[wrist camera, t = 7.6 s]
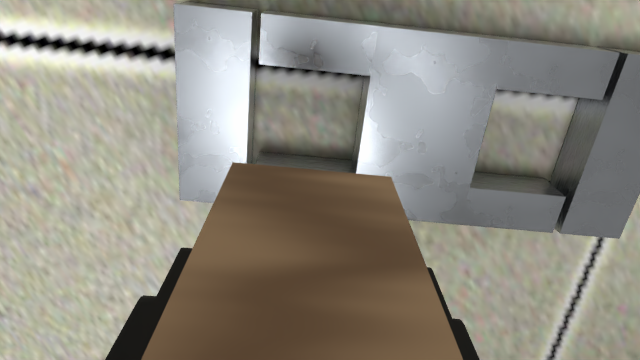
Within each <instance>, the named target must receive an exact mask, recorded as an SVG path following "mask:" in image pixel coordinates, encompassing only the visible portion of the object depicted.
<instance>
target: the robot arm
mask: <svg viewBox="0 0 640 360" xmlns="http://www.w3.org/2000/svg"><path fill="white" fill-rule="evenodd" d="M192 249H193V248H181V249H180V251H179V253H178V255H177V257H176V259H175V261H174V263H173V265H172V267H171V269H170V271H169V273H168V275H167V277H166V279H165V281H164V283H163V284H162V286H161V288H160V290H159V292H158V294H157V296H142V297H140V299H139V300H138V302H137V303H136V305H135V307H134V309H133V311H132V312H131V314H130V316H129V318H128V320H127V321H126V323H125V325H124V327H123V329H122V330H121V332H120V334H119V336H118V338H117V339H116V341H115V343H114V345H113V347H112V348H111V350H110V352H109V354H108V356H107V357H106V359H105V360H141V359H142V357H143V355H144V352H145V350H146V348H147V346H148V344H149V342H150V340H151V337H152V335H153V333H154V331H155V329H156V327H157V324H158V322H159V320H160V318H161V316H162V314H163V311H164V309H165V307H166V305H167V303H168V301H169V299H170V296H171V294H172V292H173V290H174V288H175V286H176V283H177V281H178V279H179V277H180V275H181V273H182V270H183V268H184V266H185V264H186V262H187V260H188V258H189V255H190V253H191V251H192ZM427 269H428V272H429V274H430V277H431V279H432V282H433V285H434V287H435V290H436V292H437V295H438V297H439V300H440V302H441V305H442V307H443V310H444V312H445V315H446V317H447V320H448V323H449V325H450V328H451V330H452V333H453V335H454V338H455V340H456V343H457V345H458V348H459V350H460V353H461V356H462V358H463V360H479V357H478V355H477V353H476V350H475V348H474V346H473V344H472V341H471V339H470V337H469V334H468V332H467V330H466V327H465V325H464V324H463V322H462V321H461V320H460V319H452V317H451V314H450V312H449V310H448V307H447V305H446V302H445V300H444V297H443V295H442V292H441V290H440V287H439V285H438V282H437V280H436V278H435V275H434V273H433V270H432V269H431V268H429V267H427Z"/></svg>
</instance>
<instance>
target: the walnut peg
mask: <svg viewBox="0 0 640 360" xmlns="http://www.w3.org/2000/svg"><path fill="white" fill-rule="evenodd" d="M141 360H463V358H462V356H461V353H460V350H459V348H458V345H457V343H456V340H455V338H454V335H453V333H452V330H451V328H450V325H449V323H448V320H447V317H446V315H445V312H444V310H443V307H442V305H441V302H440V300H439V297H438V295H437V292H436V290H435V287H434V285H433V282H432V279H431V277H430V274H429V272H428V269H427V267H426V264H425V262H424V259H423V257H422V254H421V252H420V249H419V247H418V244H417V241H416V239H415V236H414V234H413V231H412V229H411V226H410V224H409V221H408V219H407V216H406V214H405V211H404V209H403V206H402V203H401V201H400V198H399V196H398V193H397V191H396V188H395V186H394V183H393V181H392V178H391V177H389V176H378V175H367V174H356V173H345V172H334V171H323V170H312V169H301V168H290V167H280V166H269V165H258V164H247V163H236V162H233V163H232V165H231V167H230V169H229V171H228V173H227V176H226V178H225V180H224V182H223V184H222V186H221V188H220V191H219V193H218V195H217V197H216V199H215V201H214V204H213V206H212V208H211V210H210V212H209V214H208V217H207V219H206V221H205V223H204V225H203V227H202V229H201V232H200V234H199V236H198V238H197V240H196V242H195V245H194V247H193V249H192V251H191V253H190V255H189V258H188V260H187V262H186V264H185V266H184V268H183V270H182V273H181V275H180V277H179V279H178V281H177V283H176V286H175V288H174V290H173V292H172V294H171V296H170V299H169V301H168V303H167V305H166V307H165V309H164V311H163V314H162V316H161V318H160V320H159V322H158V324H157V327H156V329H155V331H154V333H153V335H152V337H151V340H150V342H149V344H148V346H147V348H146V350H145V352H144V355H143V357H142V359H141Z"/></svg>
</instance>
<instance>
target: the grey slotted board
mask: <svg viewBox="0 0 640 360" xmlns="http://www.w3.org/2000/svg"><path fill="white" fill-rule="evenodd" d="M258 13H259V9H250V8H241V7H232V6H223V5H214V4H205V3H196V2H183V3H175V4H174V31H175V63H176V95H177V127H178V159H179V191H180V200H185V201H196V202H208V203H214V201H215V199H216V197H217V195H218V193H219V191H220V188H221V186H222V184H223V182H224V180H225V178H226V176H227V173H228V171H229V169H230V167H231V165H232V163H233V162H236V163H247V164H252V152H253V129H254V106H255V82H256V59H257V36H258ZM259 64H261V65H271V66H280V67H290V68H300V69H309V70H319V71H329V72H338V73H348V74H357V75H364V80H363V87H362V94H361V101H360V108H359V115H358V122H357V129H356V136H355V143H354V150H353V157H352V160H344V159H333V158H322V157H312V156H301V155H290V154H280V153H269V152H259V155H258V158H257V161H256V164H258V165H269V166H280V167H290V168H301V169H312V170H323V171H334V172H345V173H356V174H367V175H378V176H389V177H391V178H392V181H393V183H394V186H395V188H396V191H397V193H398V196H399V198H400V201H401V203H402V206H403V209H404V211H405V214H406V216H407V219H408V220H413V221H425V222H436V223H448V224H459V225H470V226H482V227H493V228H505V229H516V230H527V231H539V232H550V233H553V230H554V228H555V229H556V230H557V231H558V232H559V233H562V234H573V235H584V236H596V237H607V238H620V236H621V234H622V231H623V229H624V227H625V225H626V222H627V220H628V218H629V216H630V214H631V211H632V209H633V207H634V205H635V202H636V200H637V198H638V196H639V194H640V51H631V50H622V49H613V48H604V47H592V46H586V45H577V44H568V43H558V42H549V41H540V40H531V39H522V38H513V37H504V36H495V35H486V34H477V33H468V32H459V31H450V30H441V29H432V28H422V27H413V26H404V25H395V24H386V23H377V22H368V21H359V20H350V19H341V18H332V17H323V16H314V15H305V14H295V13H286V12H277V11H268V10H267V11H265V12H263V13H261V29H260V51H259ZM496 89H502V90H511V91H521V92H531V93H540V94H550V95H559V96H569V97H579V101H578V104H577V106H576V109H575V112H574V115H573V118H572V121H571V123H570V126H569V129H568V132H567V135H566V138H565V141H564V143H563V146H562V149H561V152H560V155H559V158H558V160H557V163H556V166H555V169H554V172H553V175H552V177H551V180H550V183H549V182H548V181H547V180H546V179H544V178H535V177H524V176H514V175H503V174H493V173H482V172H474V170H475V166H476V162H477V159H478V155H479V151H480V148H481V144H482V140H483V137H484V133H485V129H486V125H487V122H488V118H489V114H490V111H491V107H492V103H493V100H494V96H495V92H496Z"/></svg>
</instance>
